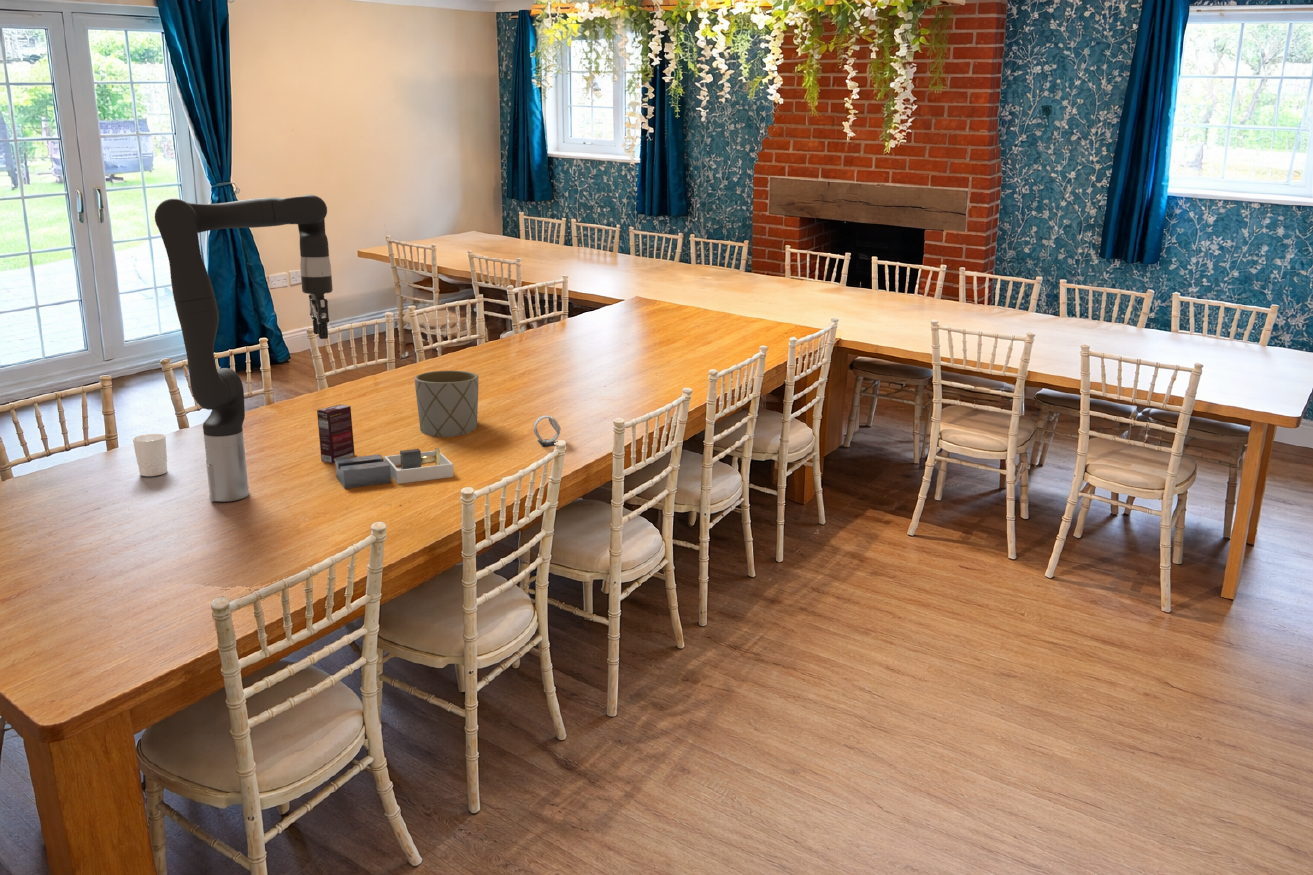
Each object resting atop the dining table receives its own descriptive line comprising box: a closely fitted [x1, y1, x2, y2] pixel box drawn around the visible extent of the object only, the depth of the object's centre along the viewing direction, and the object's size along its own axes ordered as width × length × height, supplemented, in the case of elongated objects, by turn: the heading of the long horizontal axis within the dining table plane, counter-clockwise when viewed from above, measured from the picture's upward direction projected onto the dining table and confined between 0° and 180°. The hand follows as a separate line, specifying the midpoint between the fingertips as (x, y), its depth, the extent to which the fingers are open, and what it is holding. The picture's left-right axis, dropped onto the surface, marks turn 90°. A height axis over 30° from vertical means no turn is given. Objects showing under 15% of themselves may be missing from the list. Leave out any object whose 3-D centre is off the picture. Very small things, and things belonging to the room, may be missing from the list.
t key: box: [399, 447, 442, 470], centre depth 275 cm, size 6×2×10 cm
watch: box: [533, 414, 562, 448], centre depth 296 cm, size 6×8×11 cm
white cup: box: [132, 433, 168, 477], centre depth 271 cm, size 8×8×10 cm
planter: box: [414, 370, 479, 438], centre depth 307 cm, size 19×19×20 cm
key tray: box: [383, 450, 455, 485], centre depth 275 cm, size 15×15×4 cm
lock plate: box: [334, 454, 392, 489], centre depth 268 cm, size 12×12×5 cm
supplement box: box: [316, 403, 355, 465], centre depth 283 cm, size 9×5×16 cm, turn 149°
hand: (320, 336), depth 263 cm, fingers open, 8 cm apart
